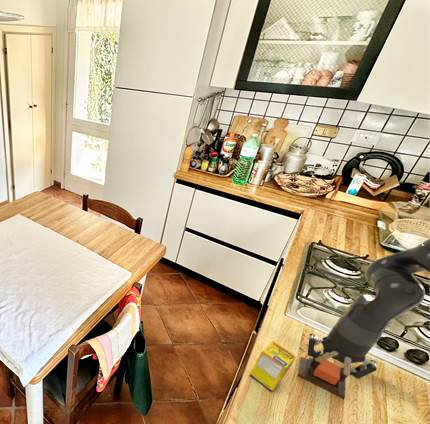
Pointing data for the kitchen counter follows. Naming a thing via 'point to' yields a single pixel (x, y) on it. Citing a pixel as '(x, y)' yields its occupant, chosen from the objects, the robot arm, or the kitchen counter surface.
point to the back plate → (319, 379)
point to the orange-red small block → (328, 371)
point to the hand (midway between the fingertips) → (324, 373)
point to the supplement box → (272, 365)
